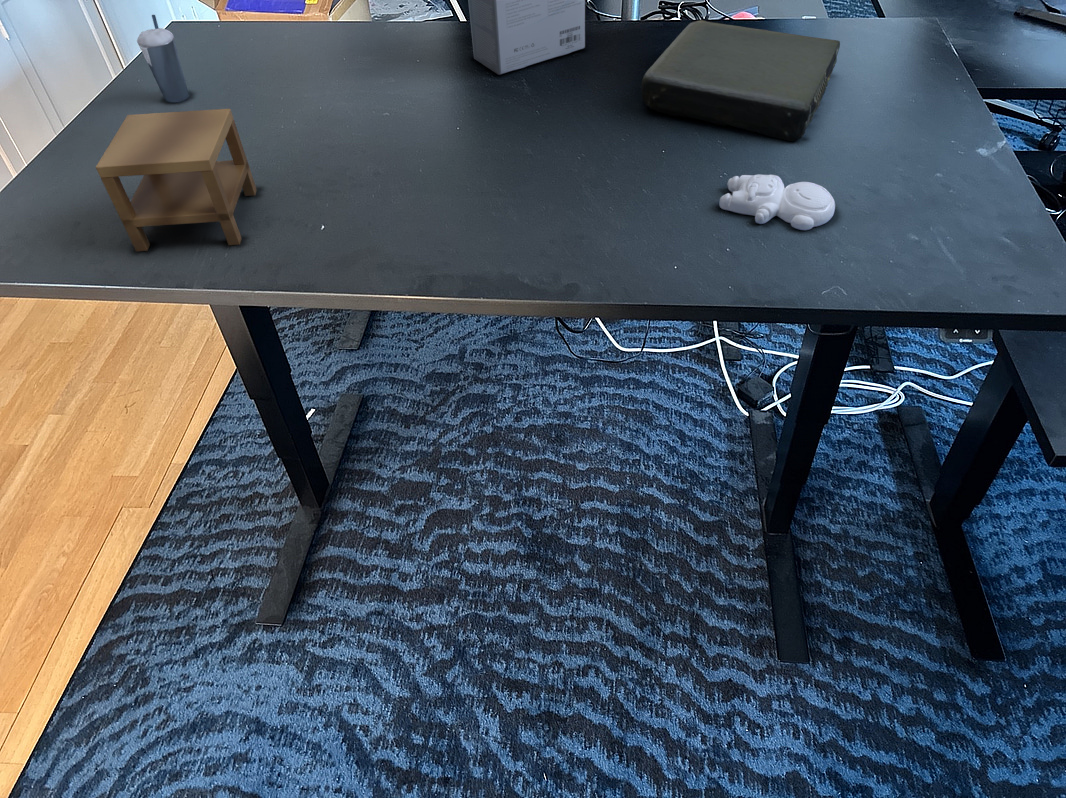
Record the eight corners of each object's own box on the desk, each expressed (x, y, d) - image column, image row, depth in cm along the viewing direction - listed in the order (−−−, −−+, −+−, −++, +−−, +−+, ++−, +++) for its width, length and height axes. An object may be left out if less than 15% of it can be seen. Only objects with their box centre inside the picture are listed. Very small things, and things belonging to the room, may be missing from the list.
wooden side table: (136, 251, 82) (94, 167, 75) (162, 196, 90) (127, 114, 83) (239, 244, 83) (208, 159, 76) (257, 190, 90) (230, 108, 83)
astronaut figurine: (734, 176, 89) (738, 152, 87) (840, 198, 86) (847, 174, 83) (711, 214, 84) (715, 190, 82) (823, 240, 80) (830, 215, 78)
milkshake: (196, 86, 110) (171, 12, 103) (191, 103, 106) (164, 28, 99) (164, 89, 110) (135, 16, 102) (158, 106, 106) (128, 31, 99)
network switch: (822, 147, 93) (832, 108, 90) (632, 123, 99) (635, 84, 95) (834, 67, 108) (843, 30, 105) (669, 50, 114) (672, 14, 110)
